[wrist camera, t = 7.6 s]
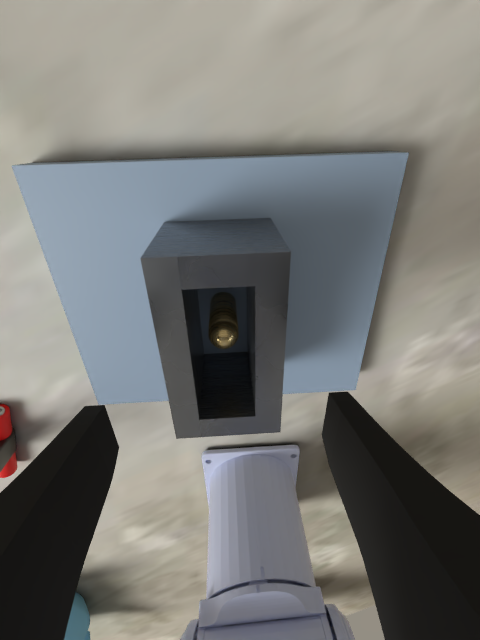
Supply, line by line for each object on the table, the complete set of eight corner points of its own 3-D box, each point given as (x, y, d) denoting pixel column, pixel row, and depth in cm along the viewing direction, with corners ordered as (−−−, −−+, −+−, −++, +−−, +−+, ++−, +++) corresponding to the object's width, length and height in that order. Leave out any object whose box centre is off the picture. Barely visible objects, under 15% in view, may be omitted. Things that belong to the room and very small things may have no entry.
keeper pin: (236, 314, 17) (240, 354, 14) (211, 315, 17) (209, 356, 14) (235, 291, 16) (238, 328, 13) (209, 292, 16) (206, 329, 13)
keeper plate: (347, 375, 22) (355, 389, 21) (105, 388, 21) (98, 404, 20) (392, 151, 15) (408, 152, 13) (30, 162, 14) (11, 165, 13)
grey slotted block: (266, 366, 19) (280, 432, 15) (186, 370, 19) (176, 438, 15) (270, 217, 15) (291, 251, 10) (164, 221, 14) (140, 258, 10)
